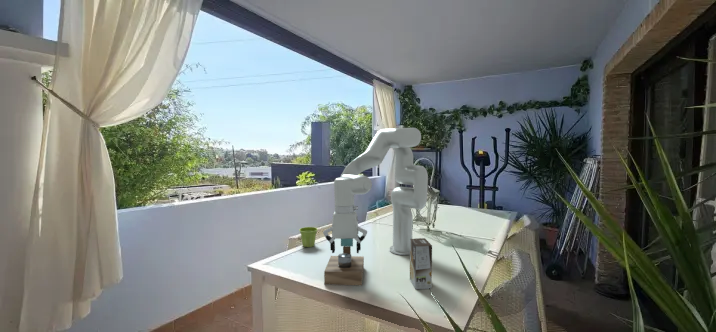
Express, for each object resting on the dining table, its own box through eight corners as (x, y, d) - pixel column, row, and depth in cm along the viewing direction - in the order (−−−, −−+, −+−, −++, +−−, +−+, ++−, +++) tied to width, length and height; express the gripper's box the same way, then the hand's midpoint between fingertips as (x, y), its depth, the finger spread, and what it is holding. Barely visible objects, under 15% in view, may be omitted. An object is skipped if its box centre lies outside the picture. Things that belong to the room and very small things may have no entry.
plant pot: (312, 241, 165) (311, 225, 165) (321, 246, 158) (321, 229, 157) (296, 245, 160) (296, 228, 159) (305, 250, 152) (304, 232, 152)
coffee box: (432, 288, 111) (433, 245, 110) (415, 289, 111) (415, 246, 109) (424, 277, 120) (425, 237, 119) (408, 278, 120) (409, 238, 119)
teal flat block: (340, 246, 128) (341, 245, 129) (352, 246, 128) (352, 245, 129) (340, 218, 127) (340, 217, 128) (352, 218, 127) (352, 217, 128)
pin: (352, 274, 123) (351, 253, 122) (350, 279, 118) (350, 258, 117) (339, 273, 123) (339, 253, 123) (337, 279, 118) (337, 257, 117)
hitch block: (331, 267, 131) (330, 245, 130) (363, 268, 130) (363, 246, 129) (324, 284, 115) (324, 259, 114) (361, 285, 114) (361, 260, 113)
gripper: (367, 206, 122) (368, 248, 123) (324, 207, 123) (325, 248, 125) (366, 211, 114) (367, 255, 116) (320, 211, 115) (322, 255, 117)
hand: (345, 251), depth 120 cm, fingers open, 9 cm apart
